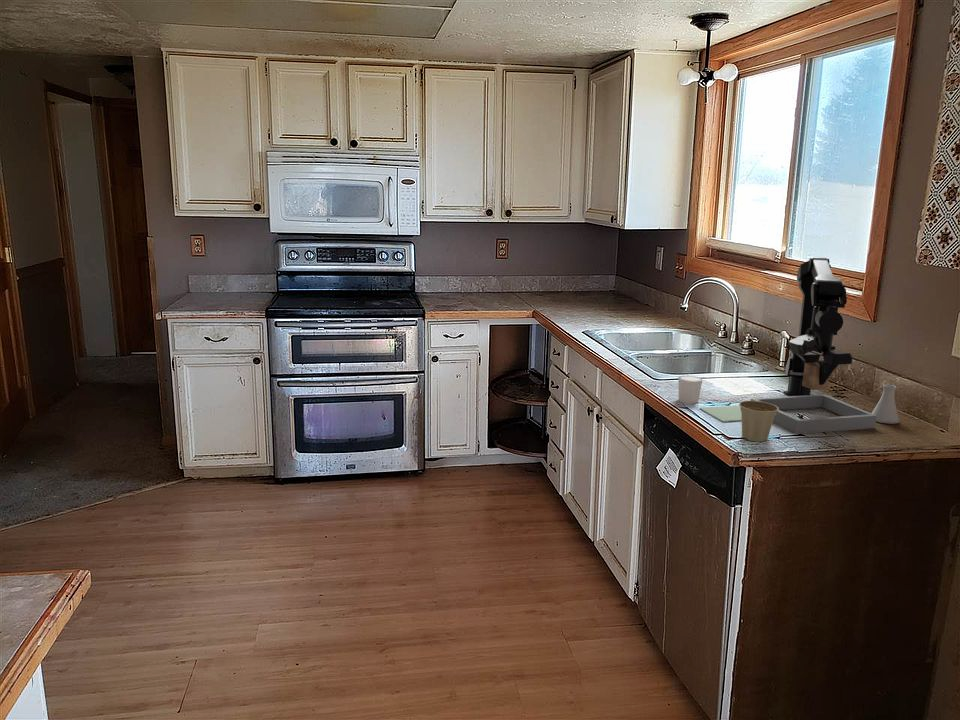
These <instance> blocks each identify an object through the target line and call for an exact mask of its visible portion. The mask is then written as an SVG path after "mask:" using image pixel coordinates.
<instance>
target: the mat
mask: <svg viewBox="0 0 960 720" xmlns="http://www.w3.org/2000/svg"><path fill="white" fill-rule="evenodd" d="M699 410H700V411H702V412H704V413H706V414H708V415H709V416H711V417H713V418H715V419H717V420H718V421H720V422H722V423H730V422H729V421H735V422H742V415H741V410H740V406H739V405H725V406H723V405H722V406H708V407H699Z"/></svg>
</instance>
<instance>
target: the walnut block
mask: <svg viewBox="0 0 960 720" xmlns="http://www.w3.org/2000/svg"><path fill="white" fill-rule="evenodd" d="M819 374H820V365H819V364H818V362H811V363H805V367H804V374H803V382H802V386H804V387H807V388H809V389H811V391H819V390H820V391H822V390H828V386H829V380H830V379H829V378H830V376H829V377H828V379H827V380H826V382H825V383H824V384H823V385H820V384H819Z"/></svg>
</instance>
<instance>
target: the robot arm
mask: <svg viewBox="0 0 960 720" xmlns="http://www.w3.org/2000/svg"><path fill="white" fill-rule="evenodd" d="M831 269H832V265H831V264H830V258H828V257H820V256H812V257H810V258H809V259H808V260H807V261H805V262H803V263H801V264H800V265H799V267H798V269H797V273H796V281H797V282H798V284H797V286H798V288H799V291H800V292H801V294H802V300H801V310H800V319H799V320H800V321H799V330H798V336H797V337H795V338H793V339H790V340H789V341H788V346H787V347H788V348H787V350H789V351H790V356H789V357H788V359H787V361H786V364H785V375H786V377H788V383H787V385H788V386H787V390H783V392H782V393H783V394H785V395H787V396H804V395H812V394H811V391H812V389H809V388H807V387H804V386H802V382H803V374H804V367H805V363H811V362H818V364H819V365H820V374H819V384H820V385H823V384H824V383H825V382H826V380H827V379H828V377H829V378H830V376H831V375H832V374H833V372H834V371H835V370H836V368H837V367H838V366H839V365H841V366H842V365H852V364H853V357H854V356H853V355H852V354H851V352H848V351H844V350H836V346H835V345H833V342H834V341H833V340H834V336H838V332H839V331H840V330H841V329H842V327H843V325H844V318H843V315H841V314H840V313H839V308H840V309H845V307H846V305H847V303H848V298H847V296H848V295H847V289H846V287H845V284H843V281H842V280H841V278H840V277H838V276H834V274H833V271H832V270H831ZM820 357H822V359H821V360H820Z"/></svg>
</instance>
